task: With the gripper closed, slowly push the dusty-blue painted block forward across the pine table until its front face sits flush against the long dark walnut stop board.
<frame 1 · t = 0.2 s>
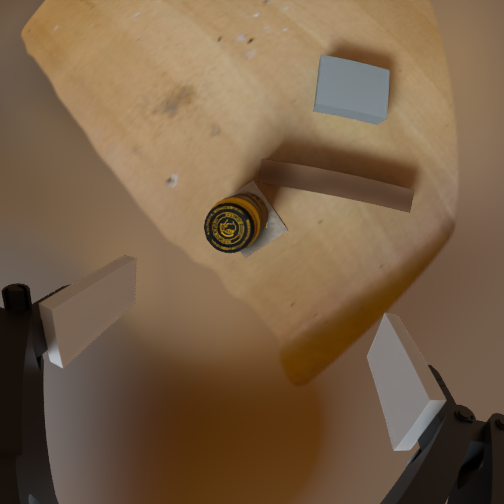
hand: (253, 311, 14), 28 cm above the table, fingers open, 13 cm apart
board: (335, 183, 38), on the table
condiment: (249, 219, 42), on the table
block: (347, 95, 35), on the table
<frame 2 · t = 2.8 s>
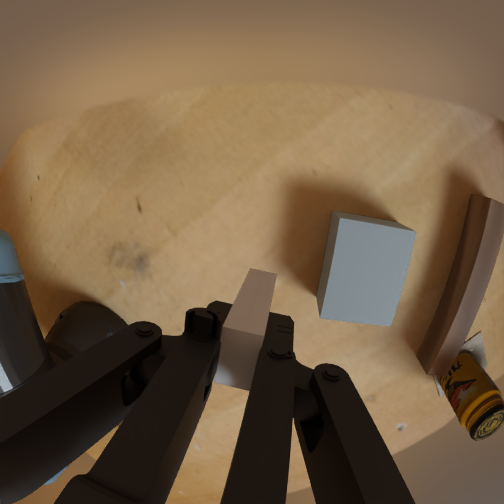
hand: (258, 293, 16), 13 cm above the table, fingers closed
board: (457, 283, 27), on the table
condiment: (459, 364, 30), on the table
block: (357, 259, 28), on the table
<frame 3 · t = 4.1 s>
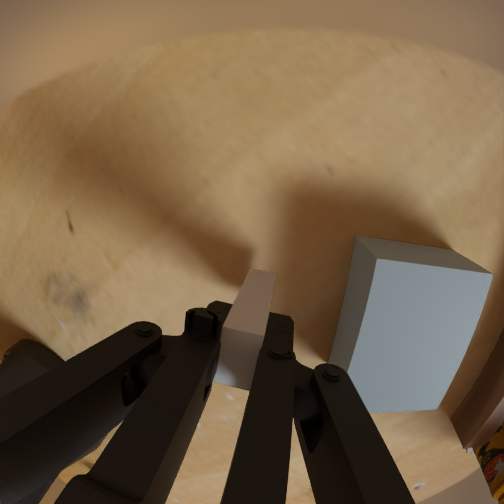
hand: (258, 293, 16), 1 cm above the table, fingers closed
condiment: (496, 419, 19), on the table
block: (391, 309, 17), on the table
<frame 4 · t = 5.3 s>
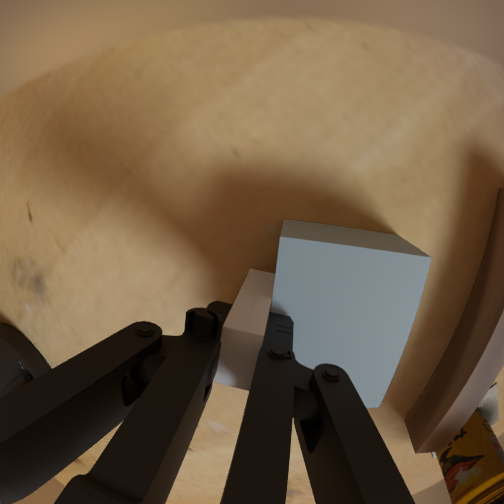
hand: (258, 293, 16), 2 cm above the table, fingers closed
board: (472, 324, 17), on the table
condiment: (463, 423, 19), on the table
block: (330, 297, 18), on the table, touching gripper
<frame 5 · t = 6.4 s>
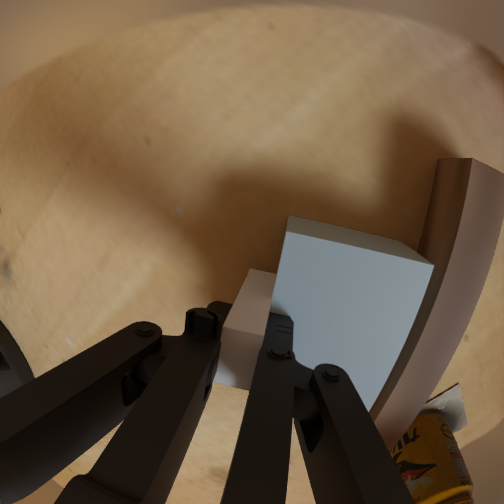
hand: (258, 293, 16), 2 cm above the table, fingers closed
board: (415, 315, 17), on the table
condiment: (423, 425, 20), on the table
block: (328, 297, 18), on the table, touching gripper
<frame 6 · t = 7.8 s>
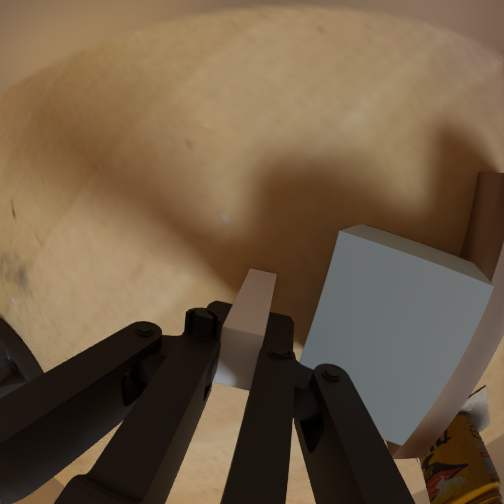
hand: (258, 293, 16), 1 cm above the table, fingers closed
board: (453, 322, 16), on the table
condiment: (450, 427, 19), on the table
block: (393, 316, 15), point 1 cm above the table, tilted 23°
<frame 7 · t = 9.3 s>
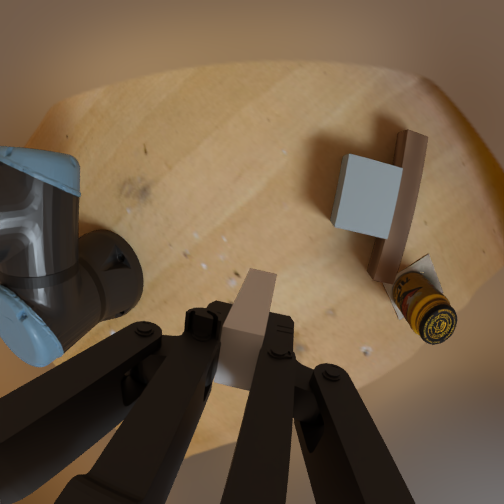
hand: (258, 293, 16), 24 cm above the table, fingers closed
board: (394, 205, 37), on the table
condiment: (413, 287, 40), on the table
block: (361, 194, 37), on the table
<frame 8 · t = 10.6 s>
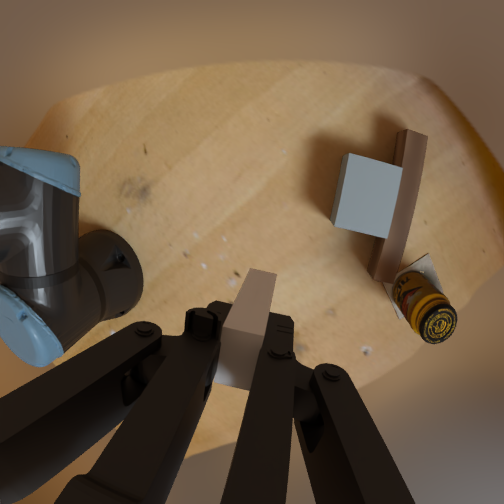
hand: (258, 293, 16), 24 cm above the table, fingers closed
board: (394, 204, 37), on the table
condiment: (413, 286, 40), on the table
block: (360, 193, 37), on the table
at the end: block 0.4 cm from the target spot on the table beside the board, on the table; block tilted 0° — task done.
